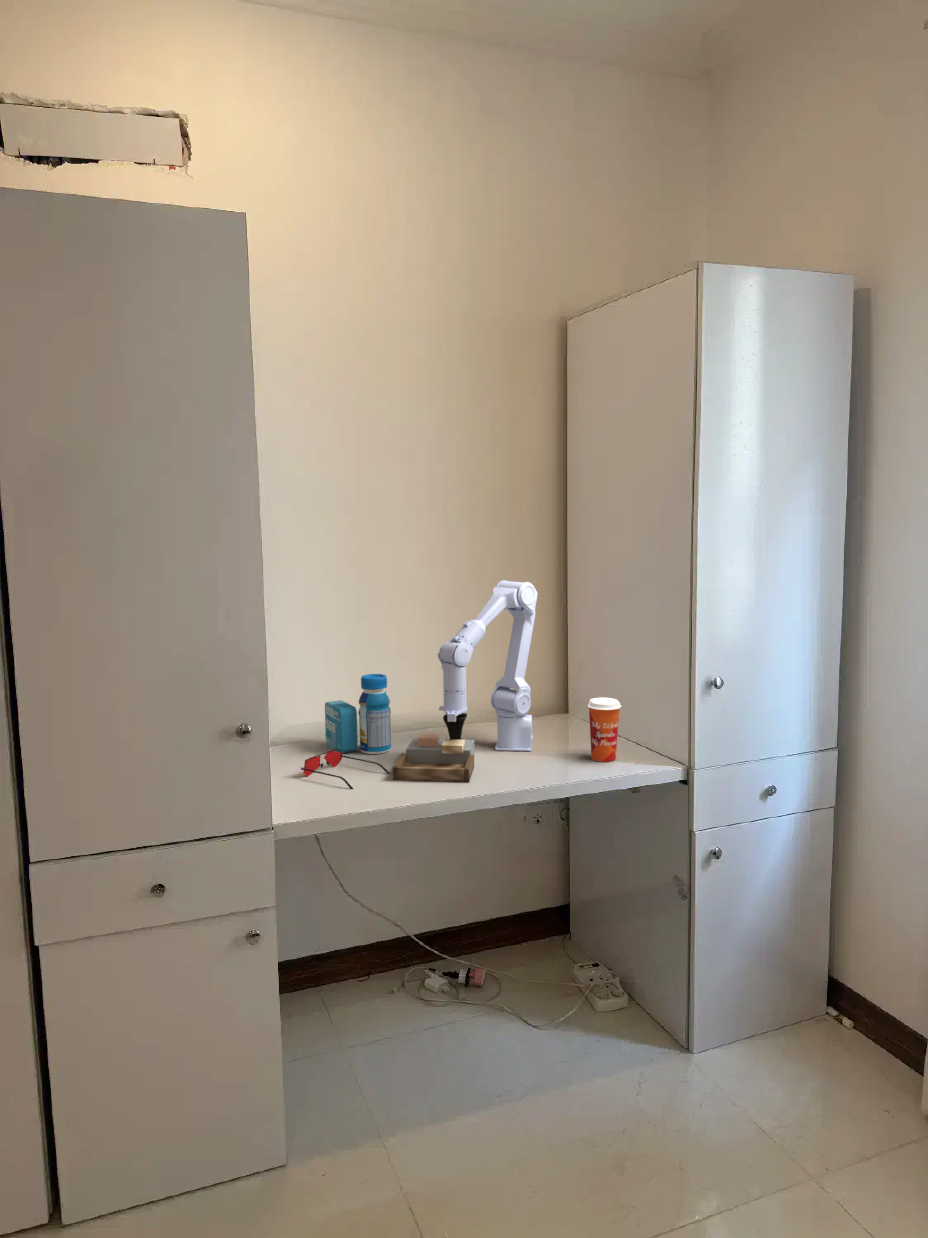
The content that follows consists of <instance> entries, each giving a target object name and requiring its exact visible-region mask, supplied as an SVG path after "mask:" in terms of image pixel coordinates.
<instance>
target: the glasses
mask: <svg viewBox="0 0 928 1238" xmlns="http://www.w3.org/2000/svg"><path fill="white" fill-rule="evenodd" d="M336 750H340V749H331V750H330V749H329V750H327V751H325V752H322V753H320V754H315V755H314V756H311V757H309V758H306V759H304V764H303V765H304V766H302V767H300V770H301V771H303V772H302V773H303V774H304V776H305V777H306V778H307V777H309V776H311V775H312V774H313V773H316V774H321V775H325V776H329V777H334V778H338V779H341V780H342V781H343V782H344V783H345V784H346V786H348V788H349V789H350V790H354V788H353V786H352V785H351V784H350V783H349V782H348V781H347V780H346V779H345V778H344V777H343V776H339V775H335V774H330V773H326V772H323V771H318V768H320V769H322V768H323V767H324V762H321V757H322V756H321V755H324V754H325V756H324V758H323V759H324V760H325V761H326V763H325V764H326V765H328V766H331V767H332V768H335V767H337V766H338V765H339V764H340V762H341V761H342V759H343V758H345V759H351V760H356V761H360V762H364V763H365V762H366V763H369V764H370V763H371V764H374V765H378V766H379V768H381V769H382V770H383V771H384V772H385V773H386V774H387V775H391V772H390V771H389V770H388V769H386V768H385V767H384V766H383V765H382V764H381V763H379V762H375V761H371V760H367V759H363V758H362V759H361V758H357V757H351V756H349V755H348V756H346V755H343V753H342V752H341V753H340V752H338V751H336ZM340 751H341V750H340Z"/></svg>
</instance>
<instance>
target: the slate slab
mask: <svg viewBox="0 0 928 1238" xmlns="http://www.w3.org/2000/svg"><path fill="white" fill-rule="evenodd" d="M445 739H446V738H440V743H439V745H438V746H418V738H412V739H411V741H410V743H409V744H408V745H407V747H406V749H405V753H407V763H438V764H466V763H467V760H468V757H469V755H474V756H475V739H464V740H465V748H464V751H463V753H462V754H451V753H442V744H443V742H444V740H445ZM461 740H463V738H462V739H461Z"/></svg>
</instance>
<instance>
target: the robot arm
mask: <svg viewBox="0 0 928 1238" xmlns="http://www.w3.org/2000/svg"><path fill="white" fill-rule="evenodd" d="M538 595H539V594H538V591H537V590H536V588H535V586H534V585H533V584H532V583H531V582H529V581H526V582H525V581H524V582H521V581H509V580H506V579H504V580H500V581H498V583H497V584H496V586H495V587H494V588H492V595H491V597H490V598H489V599H488V600H487V602H486V604H485V605H484V606H483V608H482V609H481V610H480V612H479V613H478V614H477V616H476V617H475V619H469V620H467V621H464V622H463V624H462V627H461V628H460V629H459V630H458V631H457V633H455V635H453V636H452V639H451V640H449V641H445V642H444V643H443V644H442V645H441V647H440V648H439V651H438V653H437V658H438V661H439V662H440V664H441V669H442V672H443V675H442V678H443V681H442V683H443V684H442V685H443V705H441V706H439V707H438V711H441V712H443V713H445V714H444V715H443V717H442V719H443V722H444V724H445V725H446V728H447V732H448V737H449V739H458V740H461V738H462V733H463V727H464V725H465V721H466V719H467V716H468V713H465V712H467V711H468V706H467V704H468V703H467V702H468V701H467V698H468V697H467V693H468V692H467V665H468V664H469V663H470V662H471V660H472V655H473V653H474V650H475V648H476V647H477V646H478V644H479V643H480V642H481V641H482V640H483V638H484V637H485V636H486V628H487V627H488V626H489V625H490V624H491V623H492V622H493V621H494V620H496V618H497V617H498V616H499V615H500V614H501V613H502V612H503V611H504V610H507V611H508V612H509V613H510V615H511V617H512V618H513V622H512V627H511V632H510V633H511V634H510V638H509V645H508V651H507V656H506V662H505V669H504V674H503V676H502V677H501V678H499V680H497V681H496V682H495V688H494V690H493V691H492V693H491V697H490V704H491V706H492V708H493V709H494V710H495V712H494V713H495V714H497V715H496V716H497V719H496V723H497V725H496V726H497V727H496V728H497V731H496V732H497V740H496V744H495V747H494V750H495V751H511V752H512V751H517V752H521V751H522V752H531V751H532V748H533V747H532V746H533V743H534V735H533V715H532V714H527V713H528V712H529V711H530V708H531V704H532V699H531V691H532V688H531V687H530V685H529V684H528V683H527V682H526V680H525V677H526V671H527V666H528V659H529V654H530V648H531V643H532V637H533V632H534V631H533V630H534V624H535V619H536V606H537V599H538Z"/></svg>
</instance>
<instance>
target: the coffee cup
mask: <svg viewBox="0 0 928 1238" xmlns="http://www.w3.org/2000/svg"><path fill="white" fill-rule="evenodd" d="M587 707H588V711H589V712H588V714H589V736H590V751H591V752H590V753H591V754H590V755H591V759H592V761H595V762H598V761H599V763H610V761H612V762H614V761H616V759H617V758H616V757H617V746H618V732H619V722H620V721H619V720H620V719H619V718H620V708H622V705H621V703H620V701H619V700H618V699H616V698H611V697H594V698H590V699H589V702H588V704H587Z"/></svg>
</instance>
